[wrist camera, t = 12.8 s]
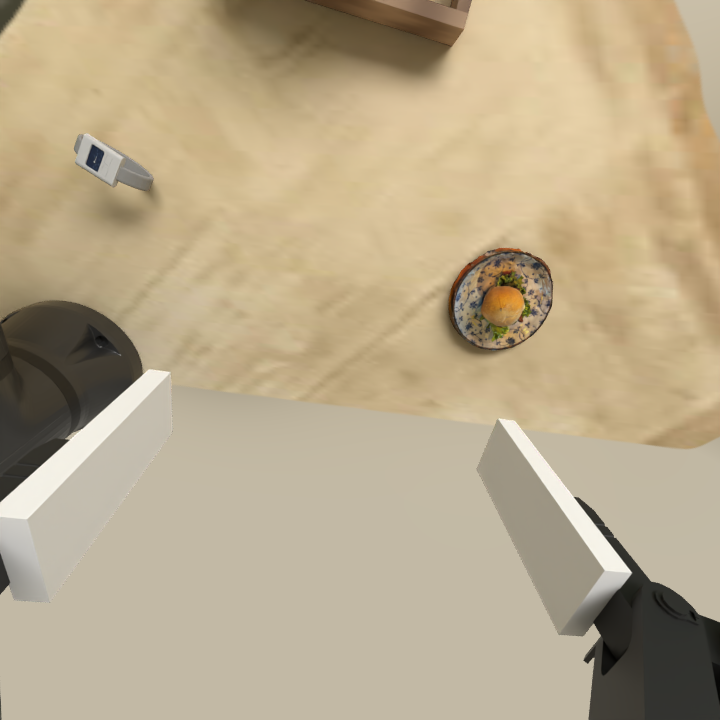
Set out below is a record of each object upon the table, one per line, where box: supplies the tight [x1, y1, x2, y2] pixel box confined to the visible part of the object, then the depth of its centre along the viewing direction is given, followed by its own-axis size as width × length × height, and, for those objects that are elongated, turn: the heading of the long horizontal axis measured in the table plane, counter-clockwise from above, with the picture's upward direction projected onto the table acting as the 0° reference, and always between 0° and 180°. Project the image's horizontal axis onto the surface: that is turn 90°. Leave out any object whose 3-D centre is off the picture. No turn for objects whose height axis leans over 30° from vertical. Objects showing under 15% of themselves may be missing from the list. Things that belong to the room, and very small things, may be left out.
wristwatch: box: [74, 133, 154, 191], centre depth 32 cm, size 6×3×5 cm, turn 55°
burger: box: [449, 248, 553, 350], centre depth 39 cm, size 12×12×8 cm
